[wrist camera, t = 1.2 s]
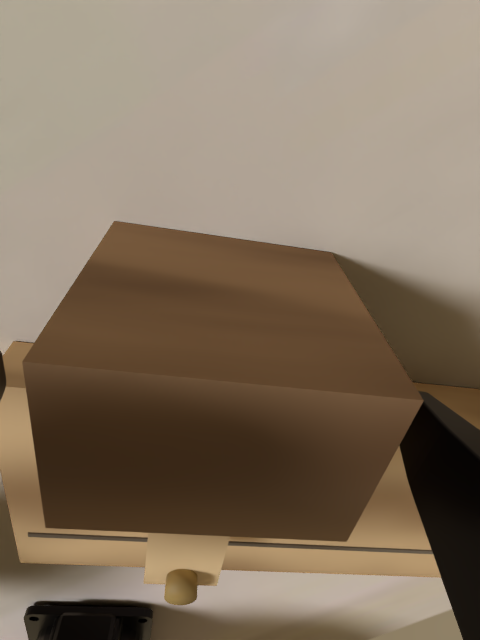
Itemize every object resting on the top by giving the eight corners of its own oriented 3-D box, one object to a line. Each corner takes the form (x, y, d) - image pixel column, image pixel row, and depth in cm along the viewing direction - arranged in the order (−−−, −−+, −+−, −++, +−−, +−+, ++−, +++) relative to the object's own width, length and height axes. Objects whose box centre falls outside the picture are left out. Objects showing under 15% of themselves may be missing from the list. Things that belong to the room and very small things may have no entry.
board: (505, 537, 20) (533, 581, 18) (39, 514, 17) (19, 564, 15) (625, 404, 15) (678, 447, 14) (13, 341, 12) (-20, 385, 11)
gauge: (258, 488, 17) (277, 668, 12) (112, 479, 16) (64, 668, 11) (331, 252, 11) (423, 400, 6) (114, 220, 11) (22, 361, 6)
